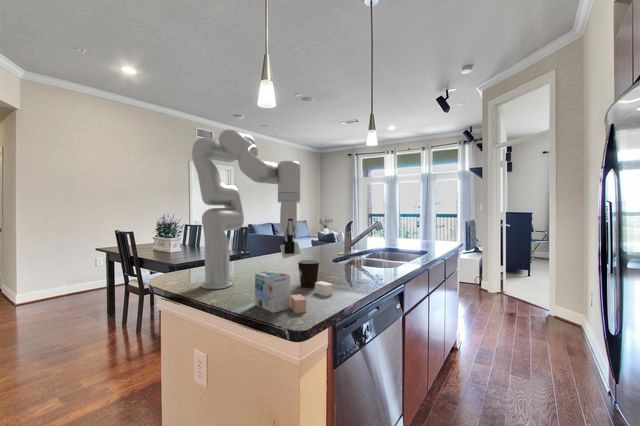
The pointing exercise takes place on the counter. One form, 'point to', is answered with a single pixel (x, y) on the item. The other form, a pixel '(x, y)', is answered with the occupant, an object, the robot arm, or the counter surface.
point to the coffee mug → (308, 272)
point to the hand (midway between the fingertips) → (288, 252)
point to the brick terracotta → (298, 303)
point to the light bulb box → (272, 291)
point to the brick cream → (324, 288)
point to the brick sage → (296, 252)
